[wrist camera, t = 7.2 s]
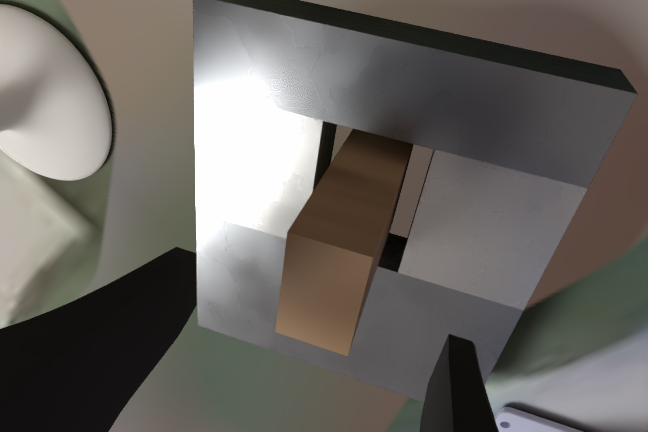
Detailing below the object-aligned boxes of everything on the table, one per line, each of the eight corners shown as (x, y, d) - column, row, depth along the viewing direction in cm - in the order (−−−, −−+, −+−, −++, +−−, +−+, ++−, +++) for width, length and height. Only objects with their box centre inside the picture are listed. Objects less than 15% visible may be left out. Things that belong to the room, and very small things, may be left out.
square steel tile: (469, 375, 25) (467, 417, 23) (219, 293, 27) (197, 325, 25) (620, 69, 16) (637, 94, 14) (226, -16, 18) (192, -6, 16)
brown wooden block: (393, 220, 22) (347, 356, 15) (340, 205, 22) (275, 332, 15) (415, 138, 19) (372, 257, 13) (356, 123, 20) (287, 231, 13)
